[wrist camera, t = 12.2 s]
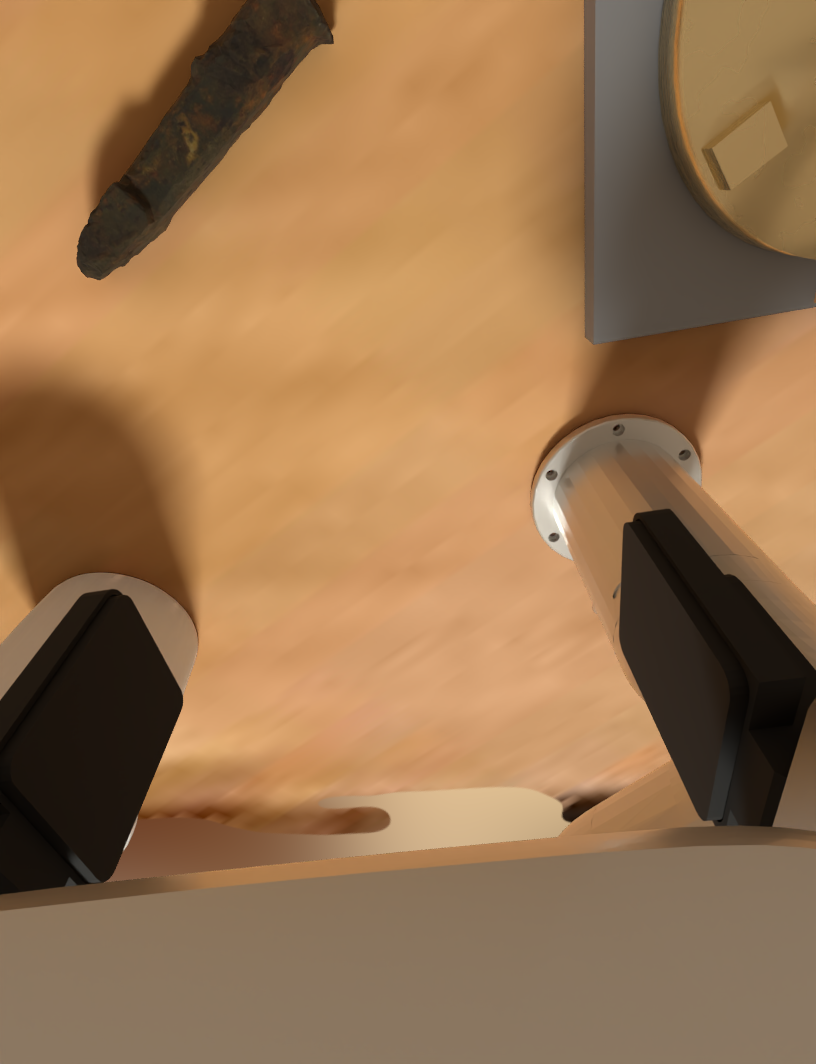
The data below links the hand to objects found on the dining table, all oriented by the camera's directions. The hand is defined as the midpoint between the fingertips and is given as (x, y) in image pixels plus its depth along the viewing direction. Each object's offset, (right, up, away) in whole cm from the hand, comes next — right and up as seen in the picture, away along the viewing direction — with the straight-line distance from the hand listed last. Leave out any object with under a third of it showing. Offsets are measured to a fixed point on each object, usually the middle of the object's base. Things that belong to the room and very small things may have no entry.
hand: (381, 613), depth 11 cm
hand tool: (-11, +23, +22) cm, 33 cm away
